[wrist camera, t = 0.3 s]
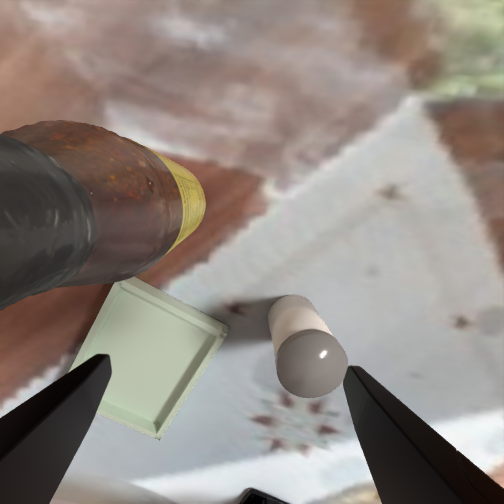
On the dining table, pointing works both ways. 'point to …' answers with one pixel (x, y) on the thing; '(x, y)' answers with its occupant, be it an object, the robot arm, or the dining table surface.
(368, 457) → the robot arm
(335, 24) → the dining table surface
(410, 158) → the dining table surface
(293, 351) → the spice jar
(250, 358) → the dining table surface
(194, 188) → the sauce bottle
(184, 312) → the tray
